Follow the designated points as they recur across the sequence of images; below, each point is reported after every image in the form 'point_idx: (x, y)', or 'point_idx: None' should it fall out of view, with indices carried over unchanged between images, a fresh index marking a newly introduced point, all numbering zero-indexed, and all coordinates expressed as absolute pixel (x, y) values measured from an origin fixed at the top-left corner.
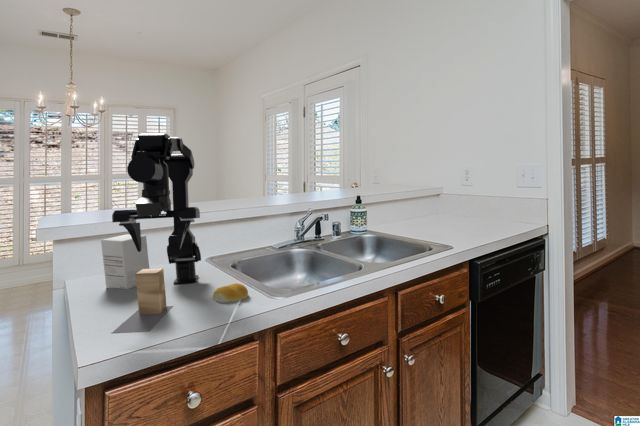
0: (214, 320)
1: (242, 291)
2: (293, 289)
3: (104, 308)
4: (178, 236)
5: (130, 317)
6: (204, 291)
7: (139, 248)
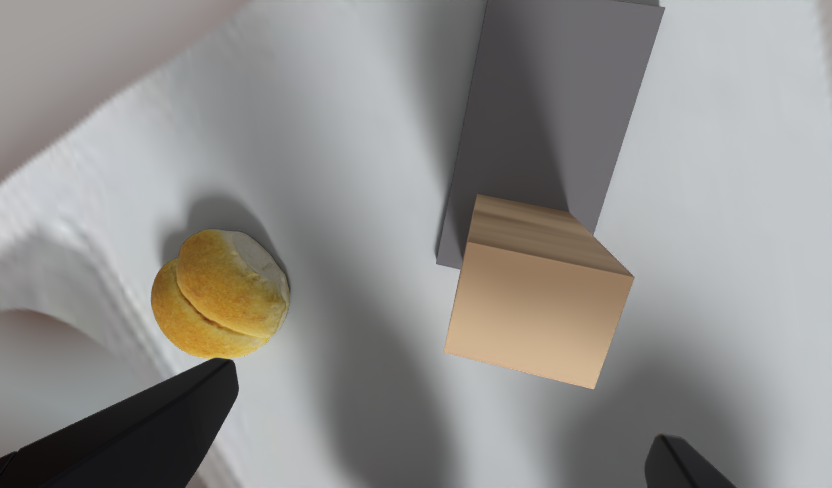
0: (254, 68)
1: (161, 275)
2: (31, 301)
3: (744, 360)
4: (76, 454)
5: (603, 183)
6: (342, 403)
7: (673, 466)
